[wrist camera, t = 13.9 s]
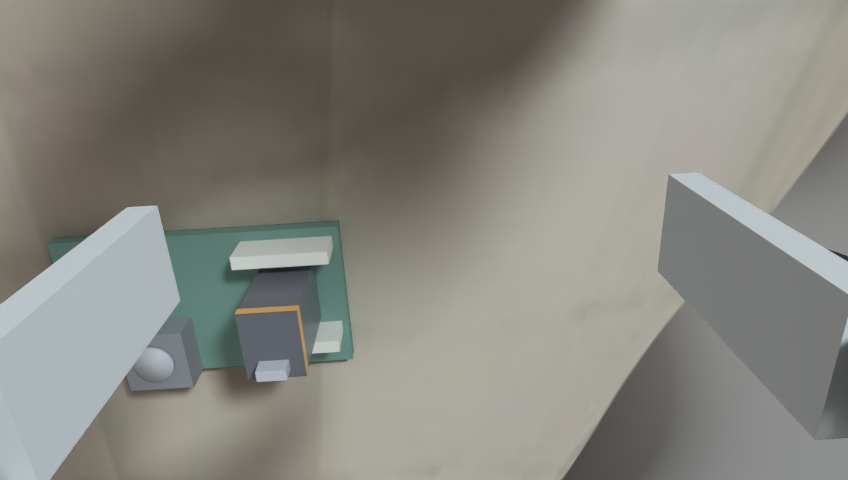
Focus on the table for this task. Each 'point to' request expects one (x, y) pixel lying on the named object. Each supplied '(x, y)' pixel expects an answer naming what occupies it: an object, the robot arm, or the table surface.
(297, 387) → the table surface
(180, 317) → the board
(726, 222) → the robot arm
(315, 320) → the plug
